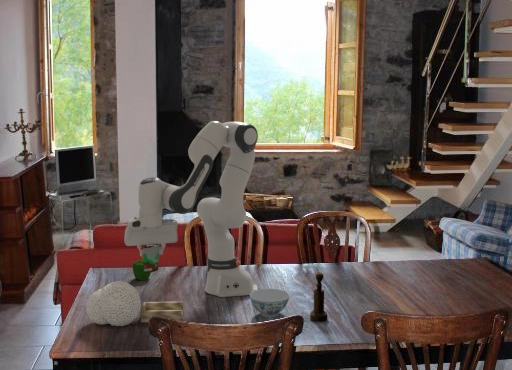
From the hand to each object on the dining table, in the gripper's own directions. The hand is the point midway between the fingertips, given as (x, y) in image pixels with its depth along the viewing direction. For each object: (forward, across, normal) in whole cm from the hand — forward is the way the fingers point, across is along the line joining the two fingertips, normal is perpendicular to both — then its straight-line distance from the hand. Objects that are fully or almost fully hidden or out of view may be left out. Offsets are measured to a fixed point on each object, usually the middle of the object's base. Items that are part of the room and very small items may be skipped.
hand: (151, 255), depth 267 cm
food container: (+6, -1, 0) cm, 6 cm away
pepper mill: (+21, -58, +30) cm, 69 cm away
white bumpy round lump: (+21, +16, +14) cm, 31 cm away
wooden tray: (+21, -2, +12) cm, 24 cm away
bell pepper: (+21, -1, -39) cm, 44 cm away
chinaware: (+21, -42, +20) cm, 51 cm away
